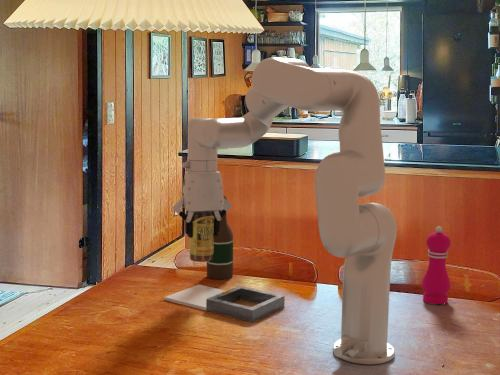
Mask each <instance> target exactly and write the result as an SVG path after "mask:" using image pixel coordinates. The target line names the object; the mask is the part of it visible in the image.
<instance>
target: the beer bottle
mask: <svg viewBox="0 0 500 375" xmlns="http://www.w3.org/2000/svg"><path fill="white" fill-rule="evenodd" d="M223 197H224V198H225V199H226V200H227V196H226V195H224V194H223ZM227 201H228V200H227ZM223 207H224V206H223ZM219 211H220V210H219ZM206 275H207V277H208V278H209V279H210V280H215V279H216V280H217V281H222V280H221V279H225V280H229V279H230V278H232V277H233V275H234V233H233V230H232V228H231V227H230V225H229V224H228V218H227V213H226V214H225V215H224V216H223V217H222V218H221V220H220V221H219V232H218V236H214V251H213V258H212V260H210V261H207V262H206ZM216 280H215V281H216Z"/></svg>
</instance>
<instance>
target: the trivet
mask: <svg viewBox="0 0 500 375" xmlns="http://www.w3.org/2000/svg"><path fill="white" fill-rule="evenodd" d="M224 291H226V290H224V289H221V288H215V287H211V286H206V285H202V284H197V285H193V286H192V287H188V288H186V289H182V290H180V291H177V292H174V293H171V294H168V295H166V296H164V297H163V298H164V301H166V302H171V303H175V304H179V305H184V306H186V307H189V308H194V309H199V310H201V311H202V310H203V311H206V299H208V298H210V297H213V296H215V295H218V294H220V293H222V292H224Z"/></svg>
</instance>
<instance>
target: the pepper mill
mask: <svg viewBox="0 0 500 375" xmlns="http://www.w3.org/2000/svg"><path fill="white" fill-rule="evenodd" d="M425 243H426V246H427V248H428V250H427V252H428V253H427V256H428V258H429V259H428V260H429V261H428V266H427V269H426V271H425V273H424V275H423V278H422V280H421V287H422V290H423V291H424V292H423V293H422V294H423V295H422V301H423V302H424V303H426V304H428V303H430V304H429V305H433V304H444V303H446V304H448V303H449V295H447V294H448V292H449V291H450V290H451V281H450V280H451V279H450V277H449V274H448V271H447V268H446V259H447V258H448V254H449V251H448V250H449V249H450V247H451V238H450V237H449V235H448V234H446V233H444V232H443V227H442V226H440V225H439V226H436V227H435V231H434V232H431V233H430V234H429V235H428V236H427V238H426V242H425ZM444 305H445V304H444Z"/></svg>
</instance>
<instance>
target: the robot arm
mask: <svg viewBox="0 0 500 375" xmlns="http://www.w3.org/2000/svg"><path fill="white" fill-rule="evenodd" d="M251 85H252V87H251V88H250V89H249V90H248V91H247V92H246V93H245V100H244V101H245V104H246V105H245V106H246V108H247V110H248V112H247V113H245V114H244V115H242V116H240V117H224V118H223V117H222V118H212V117H192V118H191V119H189V120H188V121H187V159H186V161H184V162H182V163H181V167H182V169H186V170H187V171H185V172H184V177H183V184H182V194H181V197H180V199H179V200H178V201H177V202H176V203H175V204H174V205H173V206H172V210H173V212H175V213H176V214H177V215H179V217H180V218H182V220H184V230H185V231H184V233H185V235H186V236H187V237H188V238H189V239H190V238H192V237H193V223H192V222H191V218H192V216H193V213H194V212H204V211H213V214H214V236H218V232H219V221H220V220H221V218H222V217H223V216H224V215H225V214H226V215H227V212H228V211H229V210H230V209H231V208H232V203H230V202H229V201H228V200H226V199H227V198H226V199H225V198H224V197H223V195H224V188H223V187H224V186H223V185H224V184H223V179H222V174H221V172H220V171H218V150H228V149H240V148H245V147H248V146H250V145H252V144H254V143H255V142H257V141H258V140H260V139H261V138H262V137H263V136H265V135H266V134H267V133H268V132H269V130H270V128H271V126H272V124H273V121H274V118H276V117H277V116H278V115H279V114H280V113H281V114H282V112H283V111H285V110H286V109H288V108H289V107H290V108H294V109H295V110H301V111H305V112H329V111H330V112H333V111H334V112H338V111H339V112H342V116H341V117H340V121H339V125H338V140H339V151H338V152H337V151H336V152H332V153H331V154H328V155H327V156H325V157H324V158H322V160H320V162H319V164H318V165H317V168H316V169H315V170H316V171H315V174H314V193H315V202H316V212H317V222H318V224H317V225H318V232H319V237H320V240H321V244H323V247H324V248H325V249H326V251H327V252H328V253H330V255H332V256H333V257H337V258H343V259H344V258H345V260H344V265H343V270H342V271H343V276H342V295H341V296H342V298H341V299H342V300H341V301H342V302H341V303H342V304H341V326H340V327H341V329H340V339H338V340H336V341H335V342H334V343H333V346H332V347H333V348H332V350H333V354H334V356H335V357H337V358H338V359H339V358H340V359H341V360H343V361H346V362H350V363H353V364H357V365H358V364H359V365H379V364H384V363H385V364H386V363H387V362H389V361H392V360H393V359H394V357H395V348H394V346H393V345H391V344H390V343H388V333H389V312H390V311H389V310H390V308H389V307H390V292H391V291H390V289H391V288H390V287H391V271H392V260H393V253H394V248H395V245H396V239H397V234H398V233H397V231H398V230H397V229H398V227H397V226H398V225H397V219H396V218H395V215H394V214H393V212H392V211H391V209H390V208H388V207H387V206H385V205H383V204H381V203H379V202H378V203H377V202H366V203H365V202H364V203H359V199H361V198H366V197H369V196H373V195H376V194H377V193H379V192H380V191H381V190H382V189H383V187H384V185H385V182H386V169H385V168H386V165H385V157H384V145H383V137H382V130H381V129H382V127H381V103H380V96H379V92H378V90H377V87H376V86H375V84H374V83H373V81H371V79H369V77H367V76H366V75H365V74H362V73H359V72H357V71H353V70H347V69H338V68H337V69H336V68H335V69H333V68H312V67H311V66H310V65H309V64H308V63H307V62H306V61H303V60H301V59H298V58H288V57H287V58H286V57H275V56H274V57H273V56H272V57H267V58H265V59H262V60H261V61H260V62H259V63H258V64H257V65H256V66H255V68H254V69H253V71H252V75H251ZM223 206H224V207H223ZM181 207H182V209H185V210H186V211H185V212H184V211H183V210H181ZM219 210H220V211H219Z"/></svg>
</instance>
